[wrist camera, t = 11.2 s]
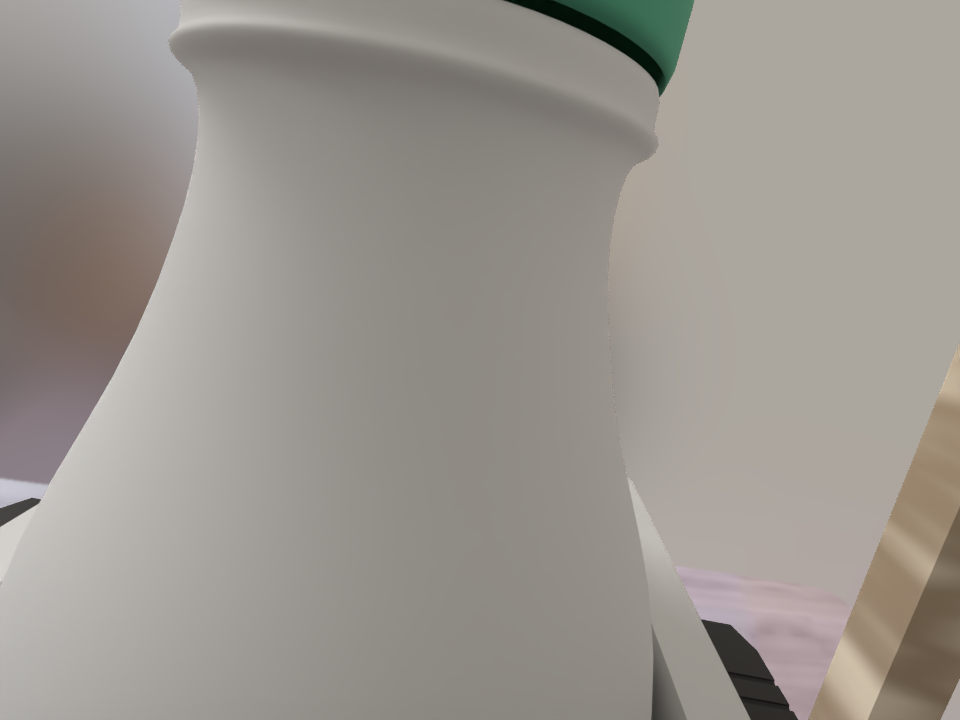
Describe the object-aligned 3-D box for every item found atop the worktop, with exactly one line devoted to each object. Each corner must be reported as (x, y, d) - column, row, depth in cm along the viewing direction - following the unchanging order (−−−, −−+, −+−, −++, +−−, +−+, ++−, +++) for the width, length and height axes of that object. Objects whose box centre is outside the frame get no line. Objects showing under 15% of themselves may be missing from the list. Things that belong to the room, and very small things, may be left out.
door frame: (-129, 723, 18) (-271, -751, 10) (-68, 674, 20) (-146, -594, 12) (853, 904, 18) (1470, -404, 10) (819, 838, 20) (1317, -305, 12)
